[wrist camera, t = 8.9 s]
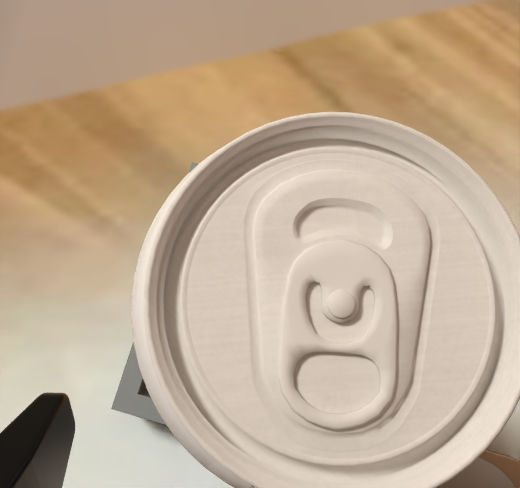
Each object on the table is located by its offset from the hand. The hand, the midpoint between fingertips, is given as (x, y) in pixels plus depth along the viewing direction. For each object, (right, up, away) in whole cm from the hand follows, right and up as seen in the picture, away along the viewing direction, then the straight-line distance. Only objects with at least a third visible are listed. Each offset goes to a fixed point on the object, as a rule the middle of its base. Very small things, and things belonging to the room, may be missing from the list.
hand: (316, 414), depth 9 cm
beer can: (0, -1, +13) cm, 13 cm away
